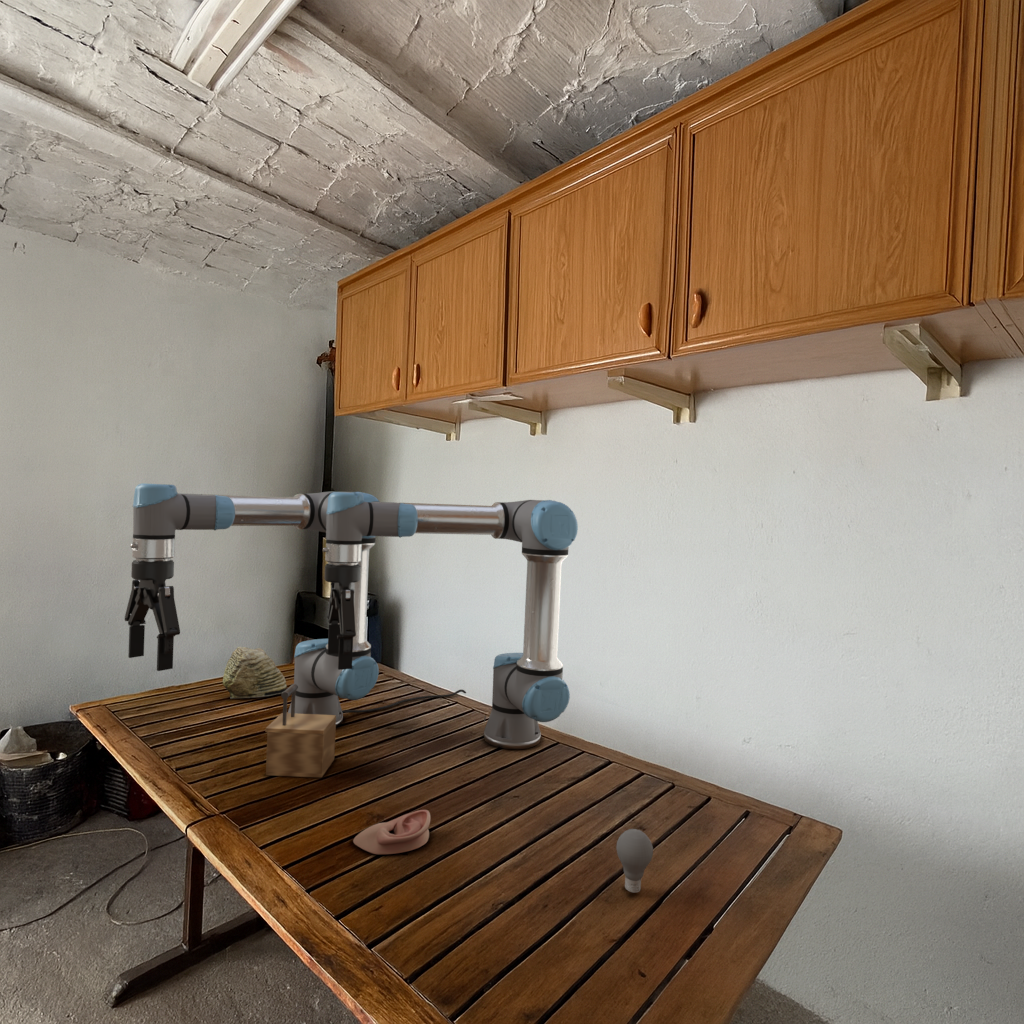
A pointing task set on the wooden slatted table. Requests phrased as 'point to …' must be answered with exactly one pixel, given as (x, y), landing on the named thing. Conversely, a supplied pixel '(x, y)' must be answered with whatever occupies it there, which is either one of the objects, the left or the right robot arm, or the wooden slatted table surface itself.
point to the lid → (299, 719)
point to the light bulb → (634, 857)
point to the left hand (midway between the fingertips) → (149, 663)
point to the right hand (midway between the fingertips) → (339, 660)
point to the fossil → (252, 674)
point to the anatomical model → (396, 834)
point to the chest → (300, 753)
